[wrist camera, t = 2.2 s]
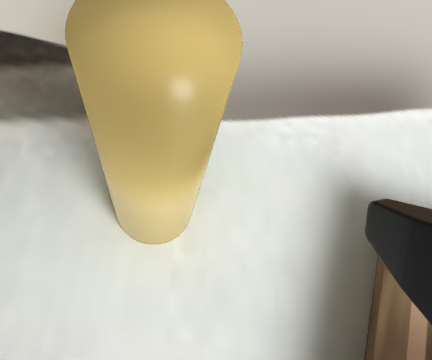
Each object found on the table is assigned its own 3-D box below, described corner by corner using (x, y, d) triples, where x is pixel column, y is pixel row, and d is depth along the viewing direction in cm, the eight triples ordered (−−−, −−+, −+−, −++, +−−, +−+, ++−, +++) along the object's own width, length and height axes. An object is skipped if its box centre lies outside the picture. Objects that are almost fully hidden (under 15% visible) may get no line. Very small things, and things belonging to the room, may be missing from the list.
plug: (178, 254, 20) (214, 132, 8) (103, 229, 20) (31, 69, 8) (201, 186, 22) (260, 1, 10) (132, 163, 22) (108, -53, 10)
